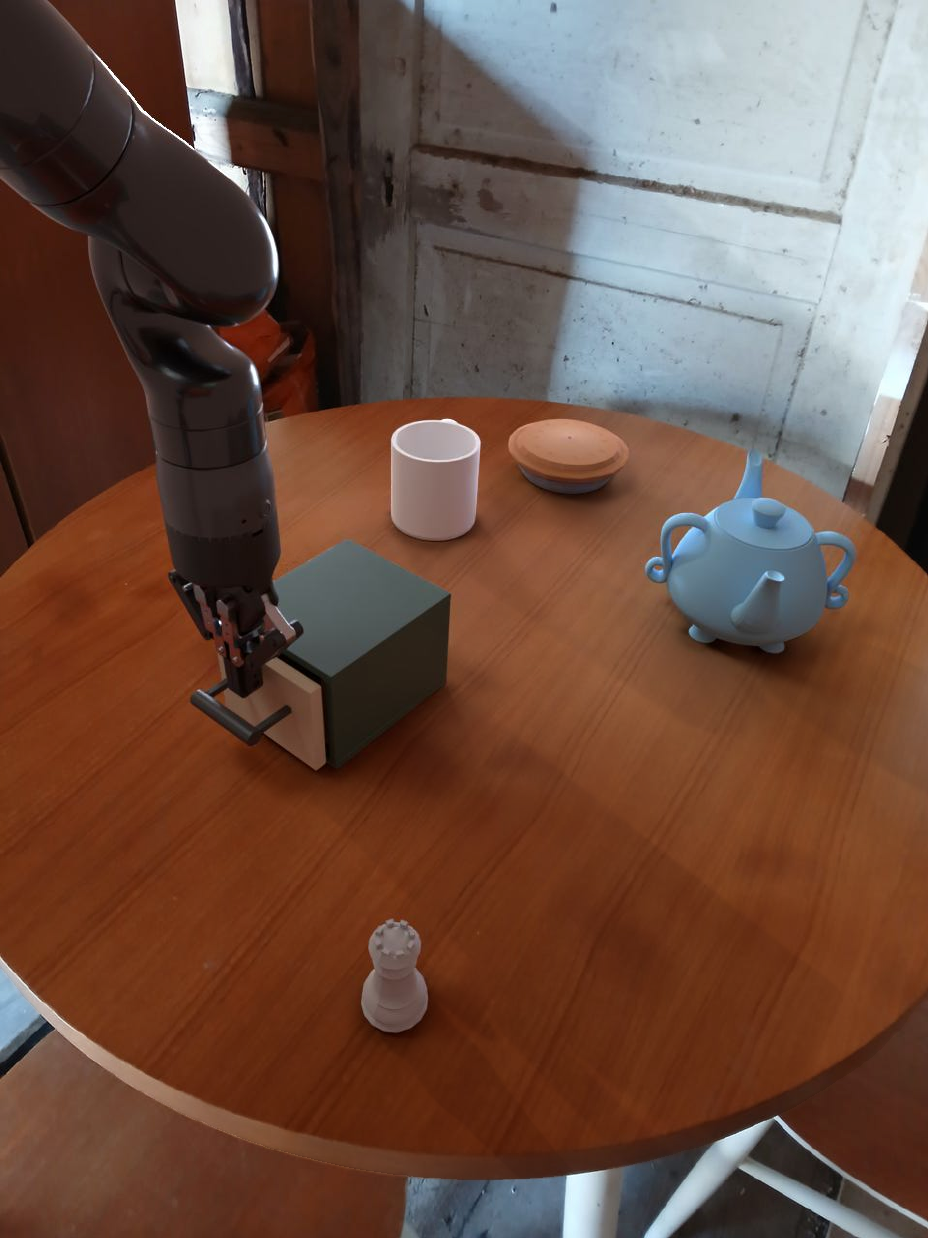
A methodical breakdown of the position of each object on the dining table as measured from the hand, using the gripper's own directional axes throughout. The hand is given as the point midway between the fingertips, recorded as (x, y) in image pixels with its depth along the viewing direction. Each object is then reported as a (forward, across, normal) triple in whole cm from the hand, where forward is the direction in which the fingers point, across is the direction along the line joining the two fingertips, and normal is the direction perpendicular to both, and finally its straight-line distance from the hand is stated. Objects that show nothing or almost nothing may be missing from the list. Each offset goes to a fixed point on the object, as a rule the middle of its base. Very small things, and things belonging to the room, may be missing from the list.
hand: (246, 689), depth 72 cm
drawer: (+7, 0, +6) cm, 9 cm away
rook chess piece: (+8, +24, -9) cm, 27 cm away
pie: (+8, -8, +59) cm, 60 cm away
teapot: (+8, +22, +46) cm, 52 cm away
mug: (+8, -14, +40) cm, 43 cm away
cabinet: (+8, 0, +11) cm, 13 cm away
